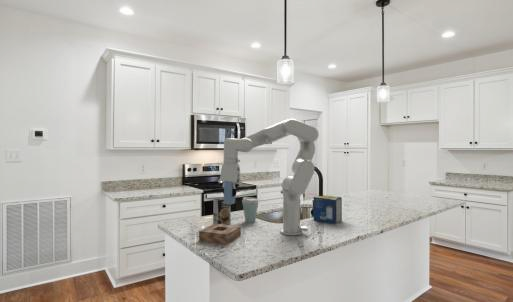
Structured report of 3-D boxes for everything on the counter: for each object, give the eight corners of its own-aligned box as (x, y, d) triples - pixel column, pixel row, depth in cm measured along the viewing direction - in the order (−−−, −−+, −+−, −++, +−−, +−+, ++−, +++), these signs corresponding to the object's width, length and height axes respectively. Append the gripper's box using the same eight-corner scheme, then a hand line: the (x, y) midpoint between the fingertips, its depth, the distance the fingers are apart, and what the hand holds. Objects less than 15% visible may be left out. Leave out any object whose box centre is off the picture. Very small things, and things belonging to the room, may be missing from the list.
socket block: (240, 235, 158) (240, 226, 157) (227, 244, 143) (227, 234, 143) (214, 232, 163) (214, 223, 163) (199, 240, 148) (199, 231, 148)
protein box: (320, 217, 200) (320, 194, 199) (342, 221, 190) (342, 197, 190) (313, 220, 191) (313, 196, 191) (335, 224, 182) (335, 199, 182)
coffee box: (218, 227, 174) (218, 200, 174) (212, 224, 179) (212, 198, 179) (231, 224, 180) (231, 198, 180) (225, 222, 185) (225, 197, 185)
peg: (235, 203, 157) (235, 180, 157) (231, 204, 153) (232, 181, 153) (227, 202, 159) (228, 180, 158) (223, 203, 154) (224, 181, 154)
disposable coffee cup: (259, 219, 193) (259, 196, 193) (257, 223, 182) (257, 199, 182) (243, 219, 194) (243, 196, 194) (240, 223, 183) (240, 199, 183)
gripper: (247, 161, 156) (246, 196, 156) (220, 160, 162) (219, 193, 162) (242, 162, 149) (241, 198, 149) (213, 160, 155) (212, 195, 155)
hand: (229, 195), depth 156 cm, fingers closed on peg, 4 cm apart
